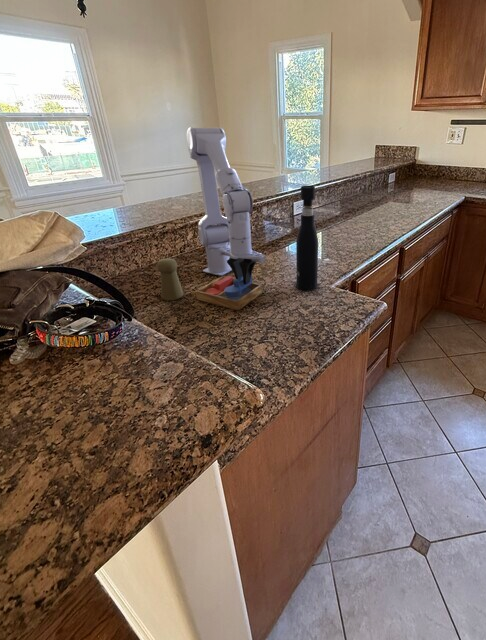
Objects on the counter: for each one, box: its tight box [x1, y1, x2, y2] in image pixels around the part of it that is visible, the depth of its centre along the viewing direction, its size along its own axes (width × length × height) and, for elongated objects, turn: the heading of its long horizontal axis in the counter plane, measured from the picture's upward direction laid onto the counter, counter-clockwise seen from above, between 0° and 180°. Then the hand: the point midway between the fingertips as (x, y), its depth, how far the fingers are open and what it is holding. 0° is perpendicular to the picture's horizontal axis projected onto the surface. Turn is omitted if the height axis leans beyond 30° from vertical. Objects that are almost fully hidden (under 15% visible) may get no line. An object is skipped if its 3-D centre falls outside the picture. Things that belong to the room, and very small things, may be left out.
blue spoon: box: [225, 273, 253, 297], centre depth 99 cm, size 10×4×3 cm, turn 154°
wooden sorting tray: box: [195, 275, 264, 311], centre depth 102 cm, size 12×14×3 cm
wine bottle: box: [295, 185, 319, 292], centre depth 102 cm, size 6×6×30 cm
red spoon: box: [205, 275, 234, 295], centre depth 103 cm, size 10×4×3 cm, turn 154°
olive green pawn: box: [156, 258, 184, 301], centre depth 100 cm, size 6×6×11 cm
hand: (243, 282), depth 101 cm, fingers closed on blue spoon, 2 cm apart
